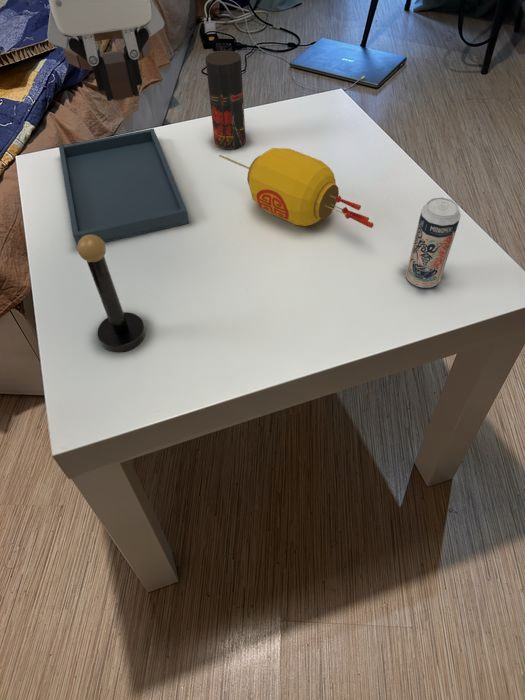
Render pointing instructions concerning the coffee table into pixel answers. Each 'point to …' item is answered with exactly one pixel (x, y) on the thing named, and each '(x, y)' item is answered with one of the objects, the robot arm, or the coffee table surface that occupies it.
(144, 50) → the brown ring with handle
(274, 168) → the lantern
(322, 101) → the coffee table surface
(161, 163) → the tray
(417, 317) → the coffee table surface
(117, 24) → the robot arm
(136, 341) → the black post with ball
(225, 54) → the deodorant
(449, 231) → the beer can
